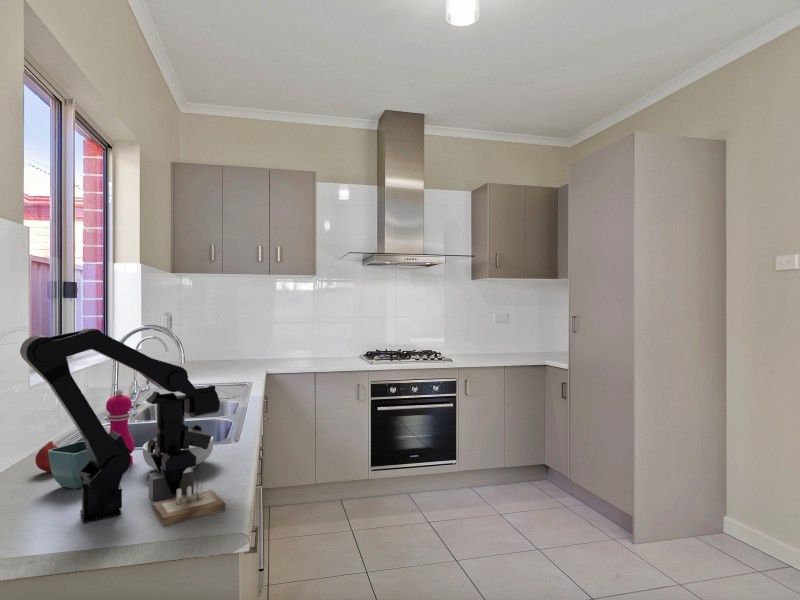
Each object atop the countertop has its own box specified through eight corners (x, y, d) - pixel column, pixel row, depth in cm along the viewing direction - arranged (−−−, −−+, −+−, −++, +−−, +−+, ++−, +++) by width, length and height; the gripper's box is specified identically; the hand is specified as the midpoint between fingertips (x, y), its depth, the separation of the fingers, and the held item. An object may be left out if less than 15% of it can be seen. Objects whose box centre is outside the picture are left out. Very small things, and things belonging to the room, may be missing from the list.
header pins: (177, 506, 104) (176, 489, 104) (175, 504, 105) (175, 488, 105) (202, 500, 107) (202, 484, 107) (200, 499, 108) (200, 482, 108)
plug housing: (152, 502, 110) (152, 479, 110) (148, 496, 113) (148, 473, 113) (193, 493, 115) (193, 471, 115) (188, 487, 118) (188, 466, 118)
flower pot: (81, 476, 126) (81, 440, 126) (108, 480, 123) (108, 443, 123) (46, 488, 118) (46, 450, 118) (74, 493, 115) (74, 454, 115)
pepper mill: (127, 458, 140) (127, 385, 139) (139, 464, 135) (139, 388, 135) (98, 465, 134) (98, 389, 134) (110, 471, 129) (109, 392, 129)
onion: (37, 478, 125) (36, 445, 124) (34, 472, 129) (33, 440, 129) (65, 472, 128) (64, 441, 128) (61, 467, 133) (61, 436, 133)
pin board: (163, 525, 99) (163, 517, 99) (153, 510, 106) (153, 502, 106) (225, 509, 106) (225, 502, 106) (211, 496, 113) (211, 489, 113)
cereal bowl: (182, 454, 143) (182, 429, 143) (227, 462, 136) (227, 436, 136) (127, 473, 128) (127, 445, 128) (174, 483, 121) (174, 454, 121)
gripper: (220, 423, 111) (220, 494, 112) (196, 408, 126) (196, 471, 126) (165, 431, 105) (166, 507, 105) (147, 415, 120) (147, 481, 120)
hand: (171, 490), depth 114 cm, fingers open, 6 cm apart
